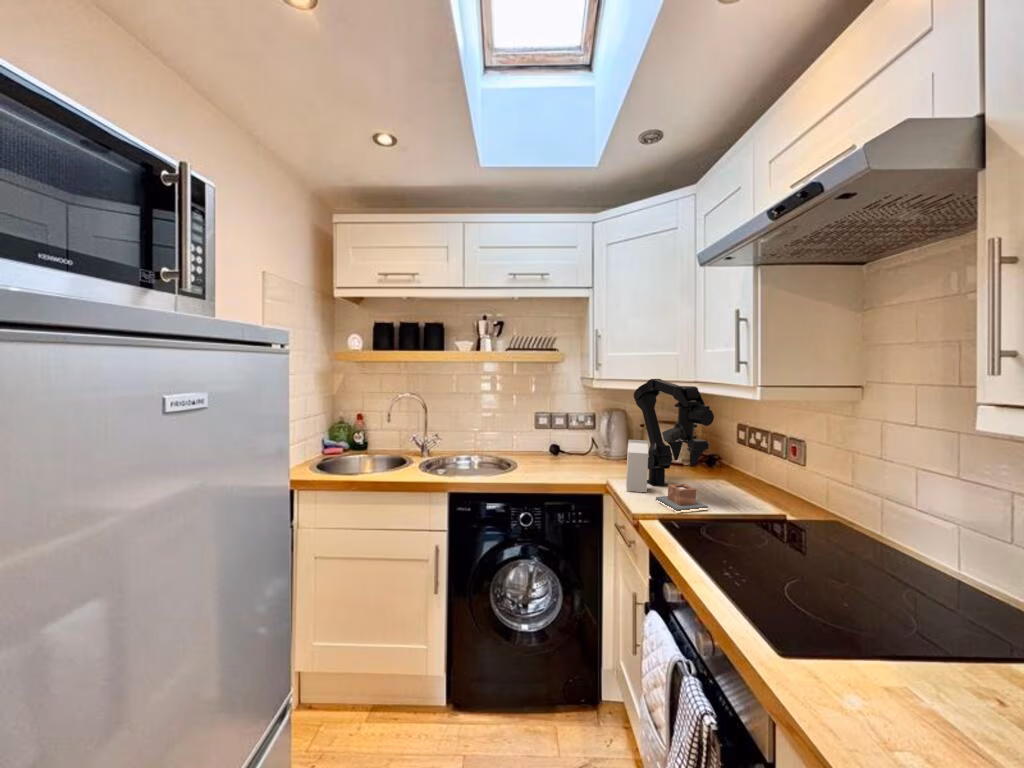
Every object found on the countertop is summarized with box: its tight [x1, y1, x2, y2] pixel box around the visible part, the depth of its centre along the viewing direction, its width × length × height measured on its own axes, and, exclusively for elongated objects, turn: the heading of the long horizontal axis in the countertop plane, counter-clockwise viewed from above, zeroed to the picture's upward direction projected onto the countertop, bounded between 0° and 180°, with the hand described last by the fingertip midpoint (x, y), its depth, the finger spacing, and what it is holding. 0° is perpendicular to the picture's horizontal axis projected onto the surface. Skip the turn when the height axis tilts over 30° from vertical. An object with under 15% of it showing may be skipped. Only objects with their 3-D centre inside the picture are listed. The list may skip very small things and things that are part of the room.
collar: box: [667, 483, 697, 505], centre depth 157 cm, size 6×6×5 cm
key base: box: [655, 487, 709, 511], centre depth 157 cm, size 12×12×6 cm
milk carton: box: [625, 439, 649, 493], centre depth 173 cm, size 7×7×19 cm
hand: (683, 463), depth 167 cm, fingers open, 9 cm apart
